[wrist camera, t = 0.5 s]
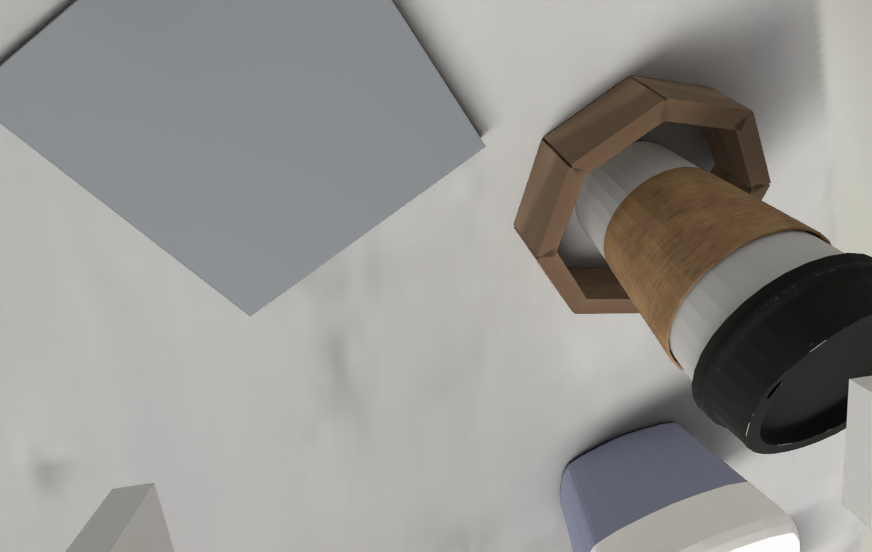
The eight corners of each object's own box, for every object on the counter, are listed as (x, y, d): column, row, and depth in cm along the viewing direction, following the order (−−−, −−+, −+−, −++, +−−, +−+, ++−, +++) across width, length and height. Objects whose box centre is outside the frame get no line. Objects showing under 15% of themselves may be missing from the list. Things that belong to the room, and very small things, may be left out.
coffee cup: (598, 99, 29) (846, 285, 18) (724, 136, 33) (1000, 311, 21) (528, 245, 33) (692, 473, 22) (646, 264, 37) (842, 469, 25)
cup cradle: (482, 180, 30) (504, 211, 28) (695, 29, 28) (737, 48, 26) (573, 314, 38) (596, 347, 35) (745, 200, 36) (781, 227, 34)
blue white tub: (523, 455, 45) (595, 604, 37) (711, 380, 46) (822, 508, 38) (546, 549, 55) (607, 684, 47) (700, 485, 56) (787, 606, 48)
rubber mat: (-28, 88, 22) (-35, 96, 21) (278, -174, 20) (280, -173, 19) (249, 306, 31) (250, 316, 30) (480, 139, 29) (485, 146, 28)
